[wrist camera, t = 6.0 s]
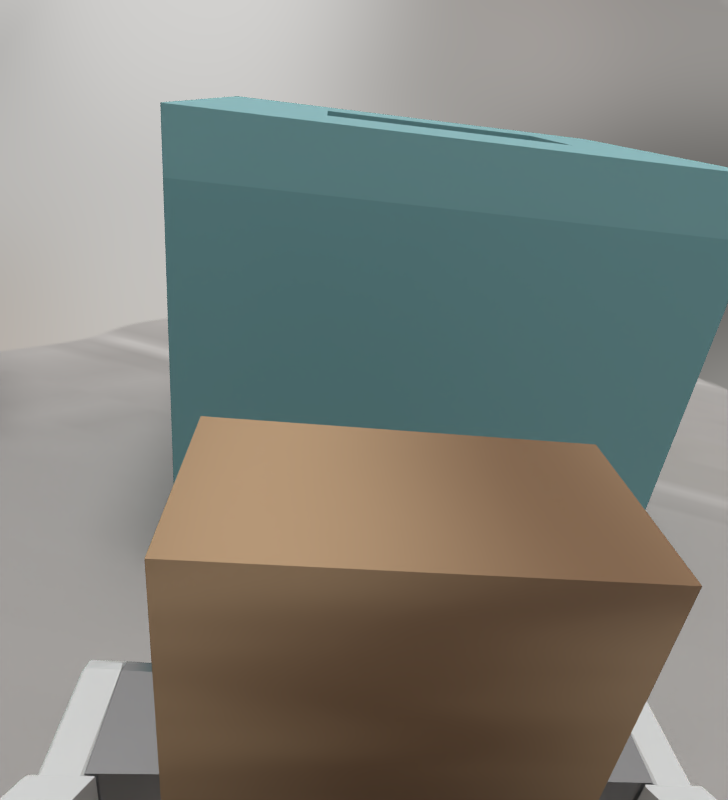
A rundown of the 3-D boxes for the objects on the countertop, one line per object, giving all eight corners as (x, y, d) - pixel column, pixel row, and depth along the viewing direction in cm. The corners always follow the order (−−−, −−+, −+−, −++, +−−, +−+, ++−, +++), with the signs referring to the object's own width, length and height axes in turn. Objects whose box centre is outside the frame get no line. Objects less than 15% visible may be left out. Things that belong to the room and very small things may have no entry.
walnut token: (177, 1043, 10) (144, 559, 5) (205, 864, 12) (200, 415, 7) (484, 1035, 10) (702, 585, 6) (456, 865, 12) (596, 444, 8)
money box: (176, 572, 19) (160, 102, 13) (232, 395, 29) (237, 96, 23) (612, 593, 20) (777, 177, 14) (513, 417, 31) (584, 139, 25)
